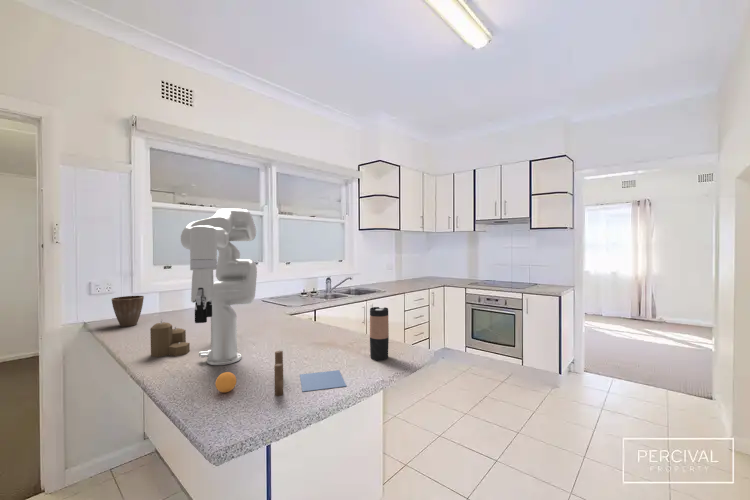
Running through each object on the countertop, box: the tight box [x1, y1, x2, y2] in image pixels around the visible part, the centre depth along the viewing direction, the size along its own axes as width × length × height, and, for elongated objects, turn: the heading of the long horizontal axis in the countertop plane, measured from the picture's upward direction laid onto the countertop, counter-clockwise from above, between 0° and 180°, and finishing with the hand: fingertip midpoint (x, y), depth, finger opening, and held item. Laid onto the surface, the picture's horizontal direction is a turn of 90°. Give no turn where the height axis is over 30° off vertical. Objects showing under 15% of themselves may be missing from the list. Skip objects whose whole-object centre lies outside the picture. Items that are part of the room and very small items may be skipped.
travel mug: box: [369, 306, 390, 362], centre depth 135 cm, size 8×8×20 cm
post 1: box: [274, 350, 284, 365], centre depth 116 cm, size 3×3×9 cm
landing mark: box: [299, 369, 347, 393], centre depth 113 cm, size 14×14×1 cm
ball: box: [215, 371, 237, 394], centre depth 105 cm, size 6×6×6 cm
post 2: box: [273, 363, 284, 397], centre depth 103 cm, size 3×3×9 cm
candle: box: [149, 318, 191, 358], centre depth 143 cm, size 14×14×15 cm
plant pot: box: [111, 295, 145, 328], centre depth 191 cm, size 15×15×16 cm
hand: (203, 319), depth 105 cm, fingers open, 9 cm apart
